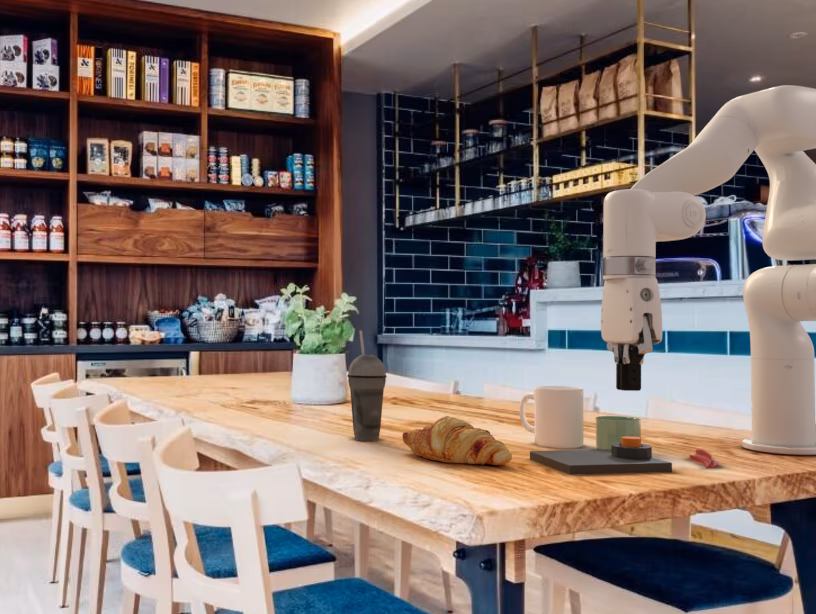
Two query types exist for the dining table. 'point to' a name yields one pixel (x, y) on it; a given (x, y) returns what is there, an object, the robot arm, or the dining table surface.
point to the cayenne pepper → (704, 459)
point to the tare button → (630, 441)
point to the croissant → (457, 443)
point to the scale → (603, 460)
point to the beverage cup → (366, 394)
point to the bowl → (615, 430)
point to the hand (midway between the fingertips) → (628, 389)
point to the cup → (556, 416)
